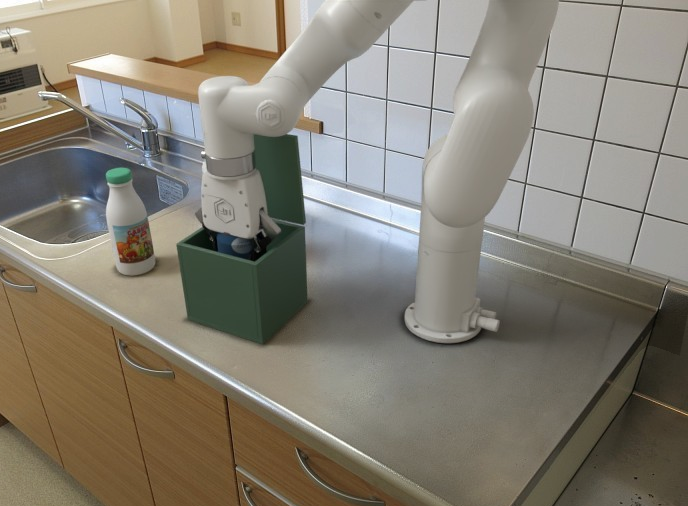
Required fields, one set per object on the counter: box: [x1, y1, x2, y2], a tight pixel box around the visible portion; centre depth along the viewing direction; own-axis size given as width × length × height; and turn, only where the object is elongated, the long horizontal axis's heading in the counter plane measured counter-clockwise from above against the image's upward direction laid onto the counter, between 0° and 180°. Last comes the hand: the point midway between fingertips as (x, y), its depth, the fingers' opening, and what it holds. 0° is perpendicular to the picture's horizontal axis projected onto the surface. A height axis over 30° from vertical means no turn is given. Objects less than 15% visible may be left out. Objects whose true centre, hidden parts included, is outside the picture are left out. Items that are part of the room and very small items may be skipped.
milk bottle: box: [105, 167, 156, 276], centre depth 128 cm, size 8×8×20 cm
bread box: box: [175, 218, 309, 345], centre depth 113 cm, size 15×16×15 cm
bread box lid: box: [254, 133, 307, 226], centre depth 110 cm, size 15×16×1 cm
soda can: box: [217, 232, 260, 261], centre depth 111 cm, size 7×7×12 cm
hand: (240, 263), depth 111 cm, fingers closed on soda can, 7 cm apart
